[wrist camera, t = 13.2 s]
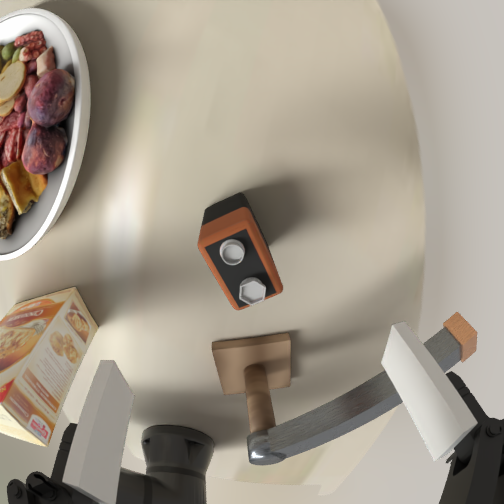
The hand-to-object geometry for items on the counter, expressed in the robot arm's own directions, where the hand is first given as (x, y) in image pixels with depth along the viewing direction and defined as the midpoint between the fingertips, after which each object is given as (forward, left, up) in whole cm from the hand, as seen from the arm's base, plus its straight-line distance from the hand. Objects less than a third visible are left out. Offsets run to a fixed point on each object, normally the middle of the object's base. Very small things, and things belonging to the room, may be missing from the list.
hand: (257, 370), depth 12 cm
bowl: (-27, +17, -19) cm, 37 cm away
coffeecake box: (-28, -9, -19) cm, 35 cm away
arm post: (0, -20, -19) cm, 27 cm away
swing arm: (+10, -15, -7) cm, 19 cm away
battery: (0, 0, -19) cm, 19 cm away
